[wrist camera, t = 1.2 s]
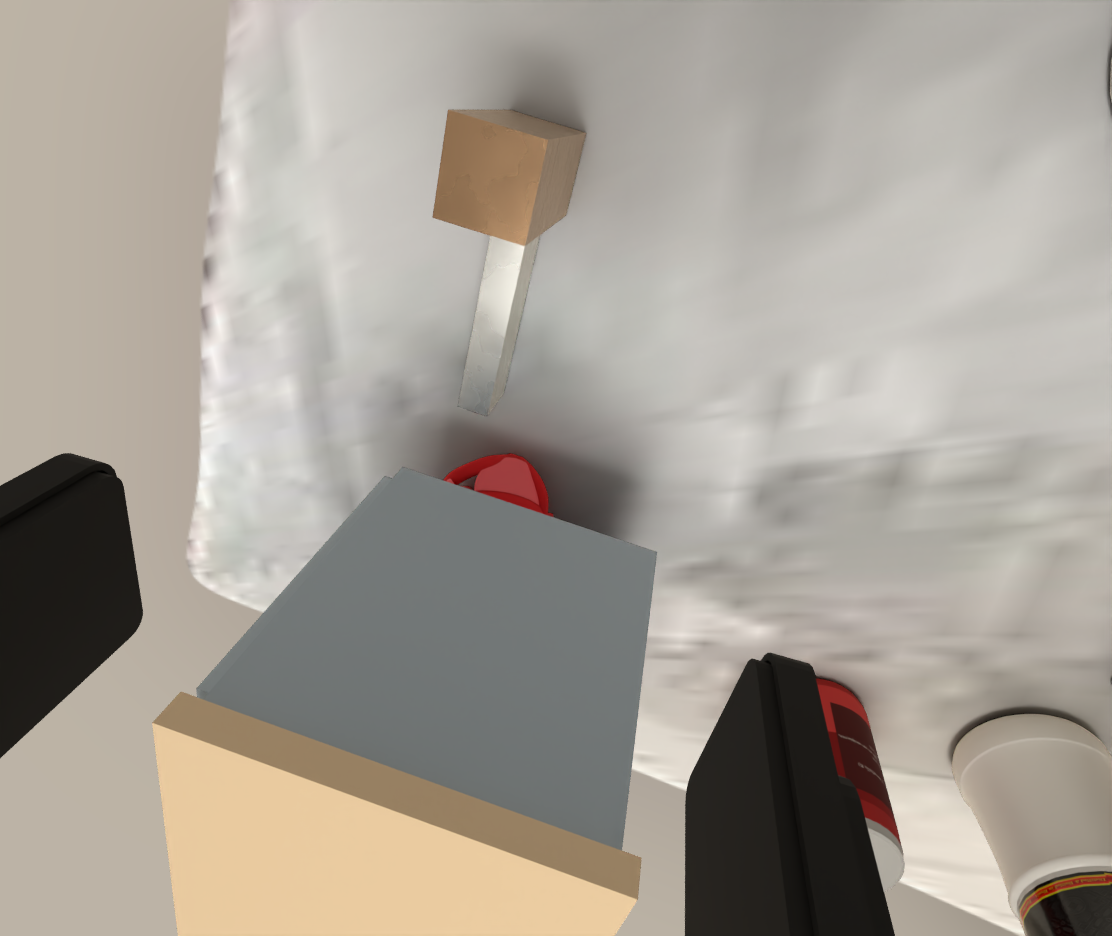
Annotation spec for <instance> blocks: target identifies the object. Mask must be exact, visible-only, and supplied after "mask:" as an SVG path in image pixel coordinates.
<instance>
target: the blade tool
mask: <svg viewBox="0 0 1112 936" xmlns="http://www.w3.org/2000/svg"><path fill="white" fill-rule="evenodd" d="M585 137H586V133H585V132H582V131H579V130H576V129H572V128H569V127H566V126H562V125H559V124H556V123H552V122H549V121H546V120H542V119H539V118H536V117H532V116H529V115H526V114H523V113H519V112H516V111H513V110H448V114H447V121H446V128H445V135H444V142H443V149H442V156H441V163H440V170H439V177H438V184H437V191H436V198H435V204H434V211H433V218H436V219H439V220H442V221H445V222H449V223H452V224H455V225H458V226H461V227H465V228H468V229H471V230H474V231H477V232H481V233H484V234H487V235H490V240H489V245H488V250H487V255H486V260H485V266H484V271H483V276H482V281H481V287H480V292H479V297H478V302H477V307H476V313H475V318H474V323H473V328H472V334H471V339H470V344H469V349H468V355H467V360H466V365H465V370H464V375H463V381H462V386H461V391H460V396H459V402H458V407H460V408H463V409H466V410H469V411H472V412H475V413H478V414H481V415H485V416H488V415H489V413H490V412H491V411H492V409H493V408H494V406H495V405H496V404H497V402H498V401H499V399H500V398H501V397H502V395H503V394H504V391H505V386H506V382H507V378H508V373H509V369H510V365H511V360H512V356H513V352H514V347H515V343H516V339H517V334H518V330H519V326H520V321H521V317H522V313H523V308H524V304H525V300H526V295H527V291H528V287H529V282H530V278H531V274H532V269H533V265H534V261H535V256H536V252H537V248H538V243H539V239H540V235H541V234H542V233H543V232H545V231H546V230H547V229H549V228H550V227H551V226H553V225H554V224H555V223H557V222H558V221H559V220H561V219H562V218H563V217H565V216H566V214H567V210H568V206H569V202H570V198H571V194H572V190H573V186H574V182H575V178H576V174H577V170H578V166H579V162H580V157H581V153H582V149H583V145H584V141H585Z"/></svg>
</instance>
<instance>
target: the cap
mask: <svg viewBox="0 0 1112 936" xmlns="http://www.w3.org/2000/svg"><path fill="white" fill-rule="evenodd" d="M476 475H478V476H477V478H476V481H475V486H474V491H476V492H479V493H482V494H485V495H488V496H491V497H494V498H497V499H500V500H503V501H506V502H509V503H512V504H515V505H518V506H521V507H524V508H527V509H530V510H533V511H536V512H539V513H542V514H545V515H548V516H551V517H553V514H552V513H548V494H547V490H546V487H545V485H544V483H543V481H542V479H541V477H540V476H539V474H538V473H537V471H536V470H535V469H534V467H533V466H532V465H531V464H530V463H529V462H528V461H527V460H525V459H524V458H523V457H522V456H518V455H515V454H512V453H509V454H507V455H491V456H487V457H483V458H480V459H477V460H474V461H472V462H469V463H467V464H465V465H462V466H460V467H458V468H456V469H455V470H453V471H451V472H450V473H449V474H448V475H447V476H446V477H445V478H444V480H443V481H446V482H449V483H452V484H455V485H458V484H460V483H461V482H463V481H465V480H467V479H469V478H471V477H473V476H476ZM461 487H464V488H467V489H470V490H472V489H471V488H470V487H469V486H461Z"/></svg>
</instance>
